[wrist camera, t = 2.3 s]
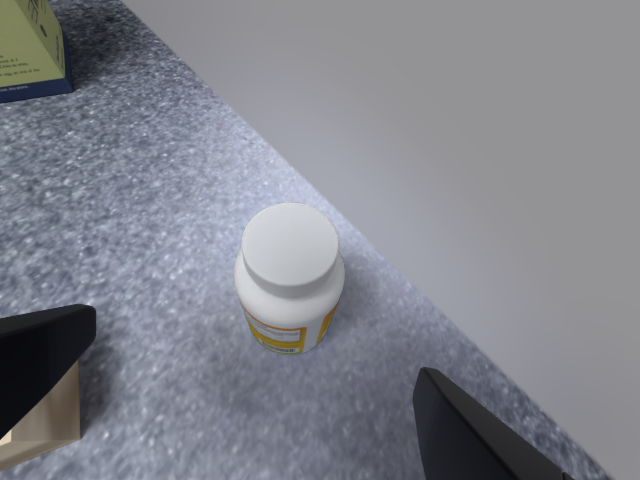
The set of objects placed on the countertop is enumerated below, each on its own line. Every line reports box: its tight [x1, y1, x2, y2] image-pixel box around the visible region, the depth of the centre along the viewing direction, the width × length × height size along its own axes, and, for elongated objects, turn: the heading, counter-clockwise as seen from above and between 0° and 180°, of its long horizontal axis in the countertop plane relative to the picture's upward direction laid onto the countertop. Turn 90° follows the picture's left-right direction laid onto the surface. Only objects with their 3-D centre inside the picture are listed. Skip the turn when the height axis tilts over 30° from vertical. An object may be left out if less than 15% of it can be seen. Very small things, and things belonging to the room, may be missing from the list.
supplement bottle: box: [234, 203, 345, 356], centre depth 17 cm, size 5×5×10 cm
